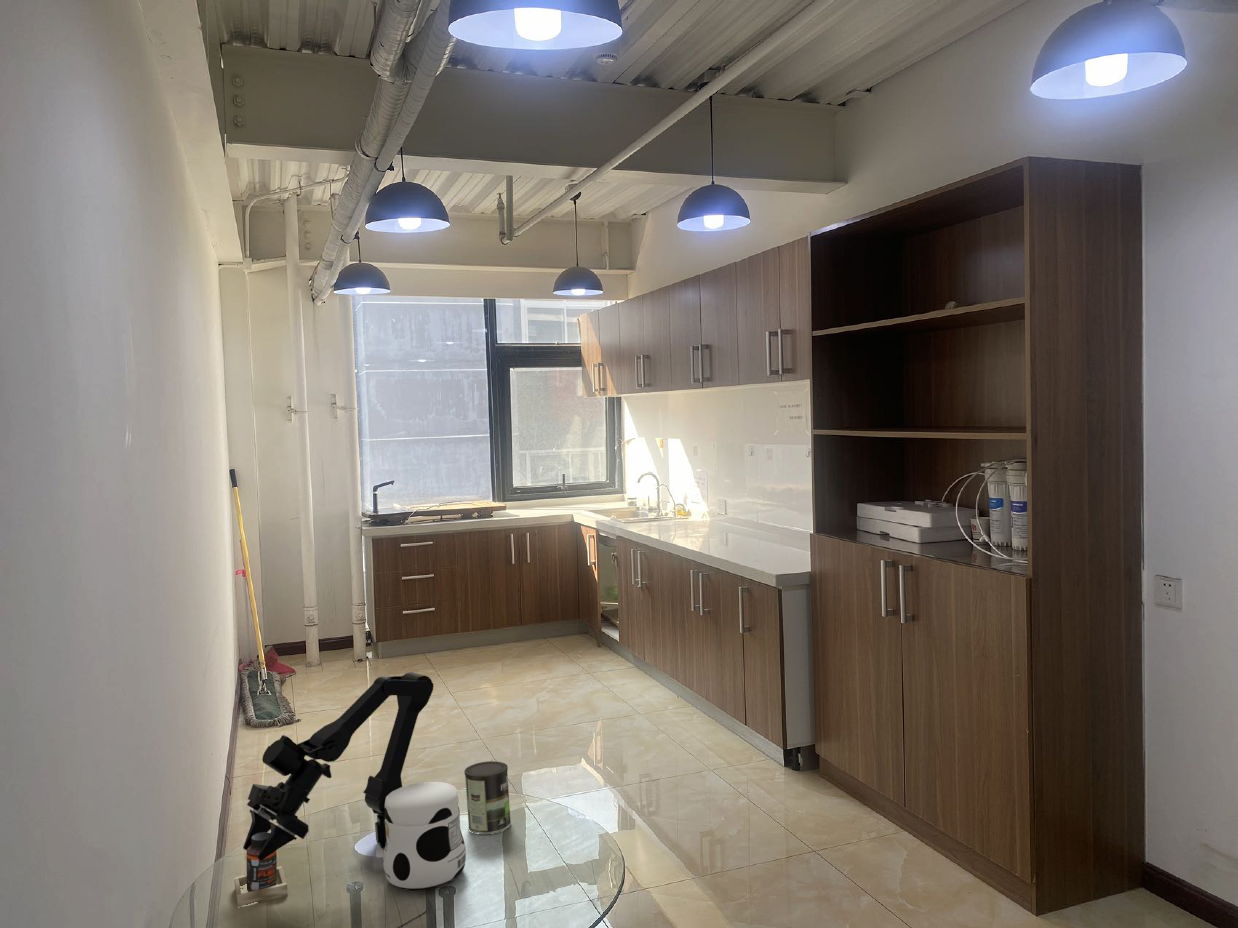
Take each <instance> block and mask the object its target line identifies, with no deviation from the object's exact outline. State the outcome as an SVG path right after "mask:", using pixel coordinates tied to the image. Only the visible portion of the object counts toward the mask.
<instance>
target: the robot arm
mask: <svg viewBox="0 0 1238 928" xmlns="http://www.w3.org/2000/svg"><path fill="white" fill-rule="evenodd" d="M433 692H434V683H433V681H432V679H431V678H430V677H429V676H427V675H425V674H419V673H416V672H413V671H412V672H411V671H410V672H406V673H405V674H402V675H393V676H378V677H377V678H376V679H374V681H373V684H371V685H370V686H369V687H368V689H366V690H365V691H364V692H363V693H362V694H361V696H359V697H358V698H357V699H356V700H355V701H354V702H353V703H352V704H351V705H350V706H349V708H347V709H346V711H344V712H343V713H342V714H341V715H340V716H339V718H336V720H334V721H333V722H330V723H328V724H325V725H324V726H322V727H321V728H320V729H319V730H317V731H315V732H314V733H313V734H312V735H310V736H311V737H309V739H306V740H303V741H300V742H298V743H295V742H294V741H293V740H292V739H291V738H290V737H289V736H286V735H284V734H283V735H281V737H280V738H279V739H277V740H275V741H273V742H272V743H271V744H270V745H269V746H267V747H266V749H265V750H264V753H263V755H262V759H261V760H262V763H263V764H265V765H266V766H267V767H269V768H270V769H272V770H274V771H275V772H277V773H278V774H280V775H281V776H283V777H287V776H288V778H287V779H286V781H284V782H282V781H280V782H278V784H276V786H272V785H263V784H257V783H252V786H251V788H250V790H249V791H250V792H249V794H248V797H247V800H248V802H247V803H246V805H247V806H248V807H249V808H251V809H249V814H250V817H251V823H250V827H249V830H248V832H247V836H246V837H245V838H246V839H245V842H244V844H243V846H242V847H243V850H245V851H247V849H248V847H249V846H250V845H251V844H252V843H251V842H252V841H251V840H252V839H251V838H252V836H253V835H255V834H257V833H262V832H267V833H270V835H269V837H268V838H267V840H266V842H265V844H264V845H263V847H262V849H261V851H260V853H259V855H258V857H257V858H258V859H259V860H263V859H264V858H266V857H267V856H269V855H270V854H272V853H273V852H275V851H276V852H277V851H278V850H279V849H281V848H282V847H284V846H286V845H287V844H289V843H291V842H292V841H296V840H297V839H298V837H299V838H300V839H302V840H304V839H305V838H306V836H307V835H308V833H309V831H310V829H309V824H307V823H306V822H304V821H303V820H301V819H299V816H297V813H298V811H299V810H300V808H301V806H303V804H304V803H306V804H309V802H310V800H311V799H310V798H309V797H308V796H309V795H310V794H311V792H312V791H313V789H314V787H315V786H316V784H317V783H318V782H319V780H320V778H321V777H322V776H323V777H326V778H327V779H331V778H332V772H331V765H330V764H328V763H331V762H336V761H337V760H339V758H340V757H341V756H342V755H343V753H344V752H345V750H347V748H348V747H349V744H350V742H351V739H352V737H353V735H354V734H355V733H356V731H357V730H358V729H359V728H360V727H361V726H362V725H363V724H364V723H365V722H366V721H367V720H368V719H369V718H371V716H372V715H373V714H374V713H375V712H376V711H377V710H378V709H379V708H380V707H381V706H382V704H383V703H385V702H386V700H387V699H388V698H390V697H391V696H396V701H397V706H398V707H397V713H396V715H395V718H394V719H395V720H394V723H393V727H392V729H391V733H390V736H389V740H388V743H387V745H386V746H387V747H386V750H385V754H384V756H383V759H382V760H383V761H382V763H381V767H380V769H379V771H378V772H377V773H376V774H375V776H372V775H369V777H368V778H367V784H366V787H365V789H364V791H363V794H365V795H364V802H365V803H366V806H368V808H370V809H371V810H372V812H373V814H376V822H375V823H374V828H375V830H374V831H375V840H376V842H377V844H379V846H380V848H381V849H385V845H386V828H385V813H384V810H385V800H386V796H388V795H389V794H390V793H391V792H392V791H394V790H396V789H398V788H401V787H403V782H402V781H403V780H402V772H403V768H404V765H405V762H406V759H407V754H408V751H409V749H410V748H409V747H410V745H411V741H412V737H413V734H414V731H415V727H416V724H417V720H418V717H419V714H420V713H421V712H422V710H423V709H424V708H425V707H426V706H427V705H428V703H429V701H430V699H431V696H432V694H433ZM306 757H307V758H309V759H306ZM318 760H321V761H323V762H326V763H320V761H318ZM274 820H275V821H276V824H277V825H276V824H275V823H274V822H273V821H274ZM269 831H270V832H269ZM296 836H297V837H296Z"/></svg>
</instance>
